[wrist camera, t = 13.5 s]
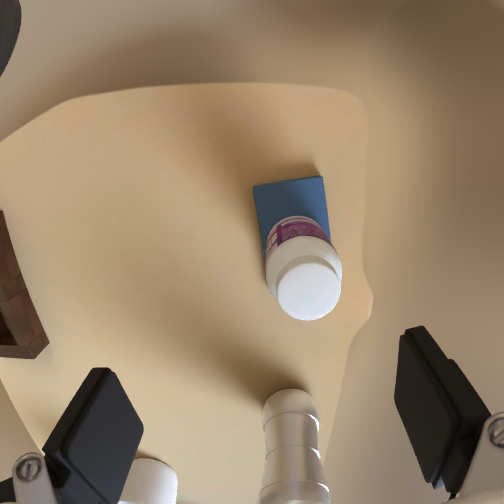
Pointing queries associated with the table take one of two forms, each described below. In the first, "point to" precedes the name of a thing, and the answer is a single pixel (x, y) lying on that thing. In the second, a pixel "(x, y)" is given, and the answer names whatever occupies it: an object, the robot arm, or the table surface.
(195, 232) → the table surface
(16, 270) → the rack
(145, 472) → the cup
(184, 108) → the table surface
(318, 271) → the pill bottle
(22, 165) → the table surface
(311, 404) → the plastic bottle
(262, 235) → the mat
